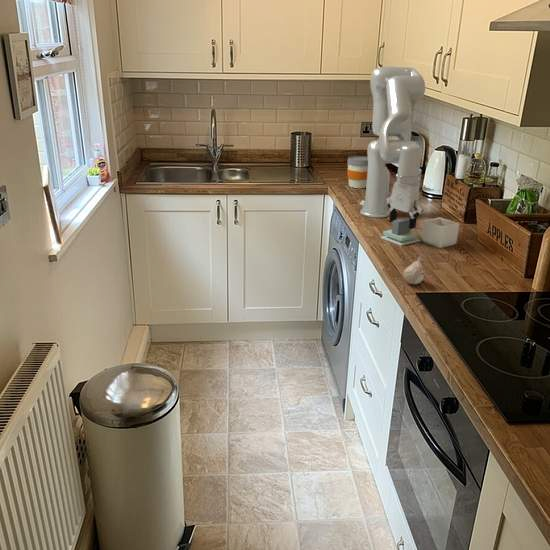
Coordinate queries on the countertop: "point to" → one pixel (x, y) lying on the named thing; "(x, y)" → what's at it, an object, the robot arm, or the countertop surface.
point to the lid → (401, 231)
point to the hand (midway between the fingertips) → (402, 224)
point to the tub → (440, 232)
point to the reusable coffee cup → (357, 171)
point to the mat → (400, 242)
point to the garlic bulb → (414, 272)
